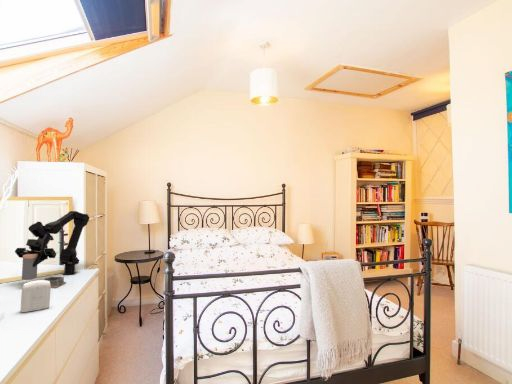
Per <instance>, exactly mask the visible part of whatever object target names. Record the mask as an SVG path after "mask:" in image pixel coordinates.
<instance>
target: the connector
mask: <svg viewBox="0 0 512 384" xmlns="http://www.w3.org/2000/svg"><path fill="white" fill-rule="evenodd" d="M37 257H38V254H26V255H23V258H22V269H21V270H22V271H21V272H22V273H21V280H25V281H27V280H28V281H29V280H32V281H33V280H35V279H37V278H38V265H36V266H35V267H33V264H34V262H35V260H36V258H37Z"/></svg>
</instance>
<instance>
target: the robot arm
mask: <svg viewBox="0 0 512 384" xmlns="http://www.w3.org/2000/svg"><path fill="white" fill-rule="evenodd" d="M72 221H73V224H74V227H73V230H72V232H71V234H70V237H69V241H68V243H67V246H66V247H65V248H62V249H61V251H60V254H59V261H60V264H61V265H64V270H63V273H62V274H61V275H62V276H65V275H66V276H67V275H69V276H70V275H72V276H73V275H75V274H77V271H76V265H78V264H79V263H80V259H79V258H78V257H77V254H78V252H77V247H78V242H79V240H80V237H81V234H82V231H83V229H84V228H85V227H86V226H87V225H88V222H89V221H90V215H89V214H88V213H82V212H79V211H77V210H73V211H72V210H70V211H68V213H67V212H66V214H64V215H63V216H61V217H60V218H59V219H57V220H55V221H51V222H48V223H46V224H44V225H43V222H41V221H36V222H35V223H32V224H31V225H29V227H28V231H29V232H30V233H31V234H32V235H33V236H34V239H32V238H29V239H27V242H26V244H25V245H26V246H28V249H27V248H26V247H17V248H16V249H15V250H14V253H15V255H17V256H18V258H20V259H23V255H26V254H38V257H37V258H36V260H35V262H34V264H33V267H35V266H36V265H37V266H38V265H39V264H41V263H42V262H44V261H45V260H48V258H49V259H55V258H56V256H57V253H56V251H55V249H54V248H53V247H52V248H48V247H49V246H48V245H49V242H50V241H54V240H55V239H54V237H53V235H57V234H58V233H60V232H61V231H62V229H63V227H64V226H65V225H67V224H68V223H70V222H72ZM35 238H37V239H35Z"/></svg>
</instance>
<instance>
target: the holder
mask: <svg viewBox="0 0 512 384" xmlns="http://www.w3.org/2000/svg"><path fill="white" fill-rule="evenodd" d="M43 280H47V281H50V285H51V289H57V288H58V289H59V288H60V287H62V286H64V285H66V283H67V281H65V277H64V276H49V277H46V278H44V279H43Z"/></svg>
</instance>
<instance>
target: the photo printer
mask: <svg viewBox="0 0 512 384" xmlns="http://www.w3.org/2000/svg"><path fill="white" fill-rule="evenodd" d="M51 289H52V288H51V285H50V281H47V280H44V279H37V280H32V281H29V282H26V283H23V285H22V288H21V295H20V297H21V298H20V299H21V300H20V311H19V312H21V313H27V312H28V313H29V312H33V311H39V310H44V309H45V310H46V309H49V308H50V303H51Z"/></svg>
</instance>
